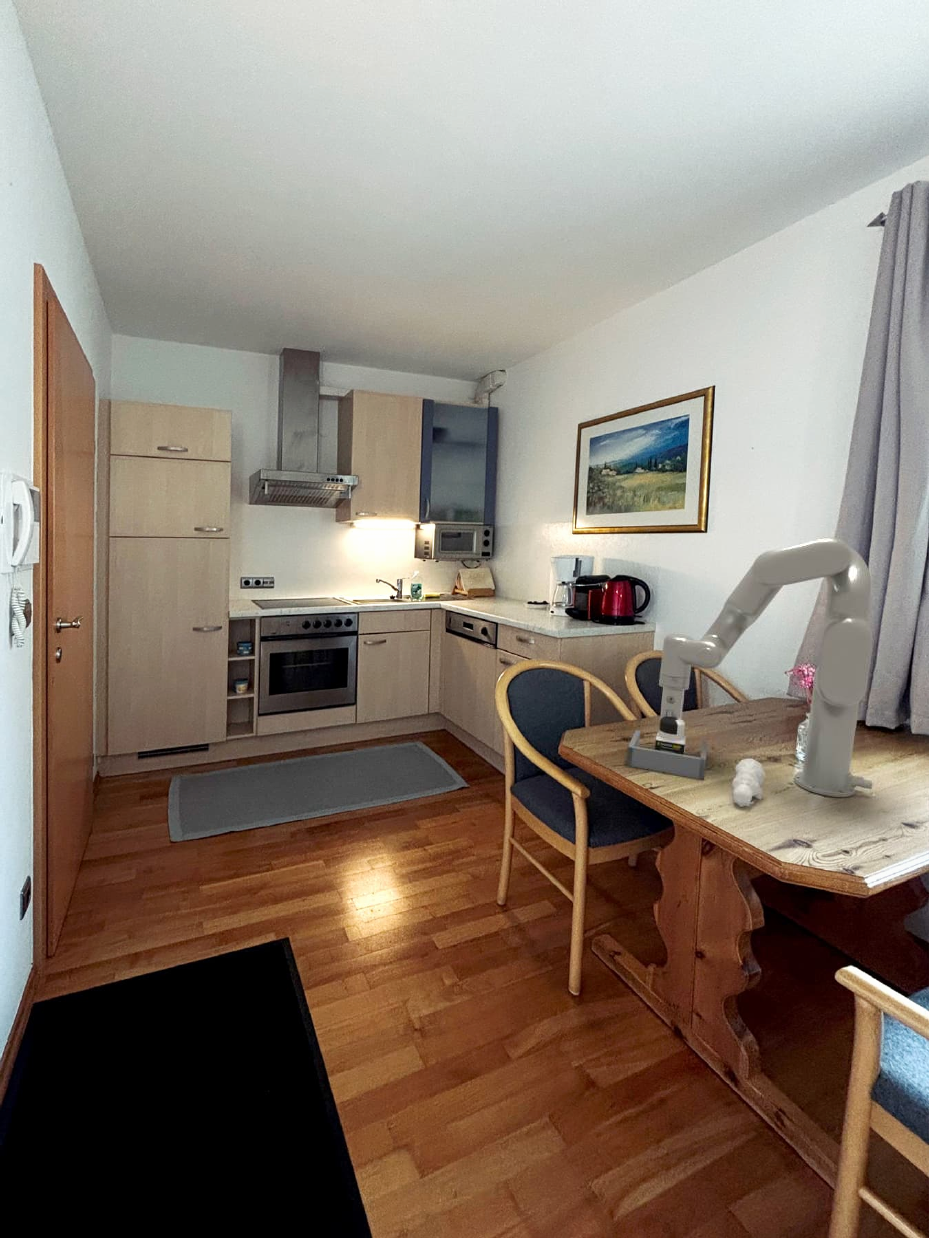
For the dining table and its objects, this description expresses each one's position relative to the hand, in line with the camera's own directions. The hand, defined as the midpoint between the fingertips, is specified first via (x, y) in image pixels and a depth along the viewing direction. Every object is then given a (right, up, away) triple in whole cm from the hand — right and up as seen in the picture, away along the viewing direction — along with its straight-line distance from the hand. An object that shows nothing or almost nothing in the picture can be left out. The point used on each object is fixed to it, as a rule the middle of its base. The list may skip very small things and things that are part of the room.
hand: (666, 746), depth 163 cm
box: (-2, -3, -5) cm, 6 cm away
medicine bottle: (-2, -3, -6) cm, 7 cm away
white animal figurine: (+9, -7, -27) cm, 29 cm away
